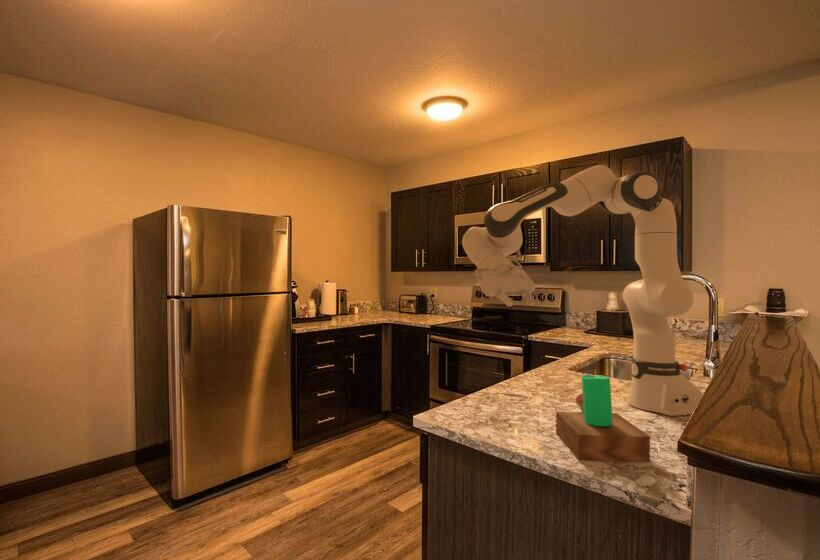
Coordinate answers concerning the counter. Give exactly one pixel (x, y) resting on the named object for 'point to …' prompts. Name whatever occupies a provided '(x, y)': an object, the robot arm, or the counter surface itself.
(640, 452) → the walnut block
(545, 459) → the counter surface
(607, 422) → the candle
